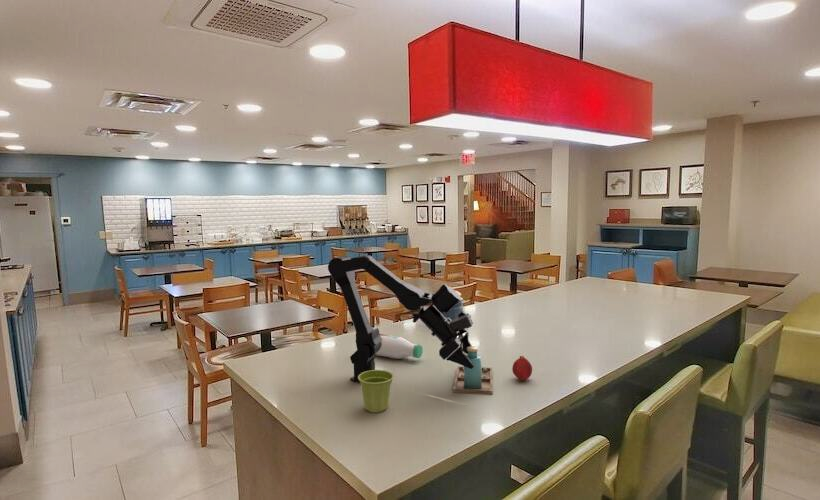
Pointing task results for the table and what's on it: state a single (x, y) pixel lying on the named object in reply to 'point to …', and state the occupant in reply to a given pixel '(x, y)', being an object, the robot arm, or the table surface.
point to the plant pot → (376, 389)
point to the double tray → (485, 389)
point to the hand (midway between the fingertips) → (474, 362)
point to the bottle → (473, 370)
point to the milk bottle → (398, 348)
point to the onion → (522, 368)
